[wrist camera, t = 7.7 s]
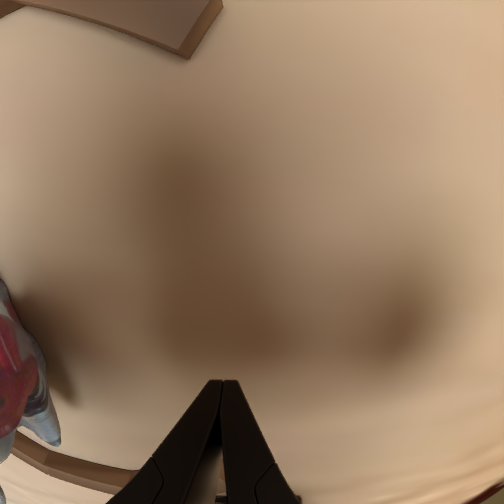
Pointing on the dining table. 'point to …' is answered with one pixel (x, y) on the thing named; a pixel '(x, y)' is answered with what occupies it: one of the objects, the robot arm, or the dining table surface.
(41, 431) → the brake caliper
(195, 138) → the dining table surface
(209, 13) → the bent brown bar
